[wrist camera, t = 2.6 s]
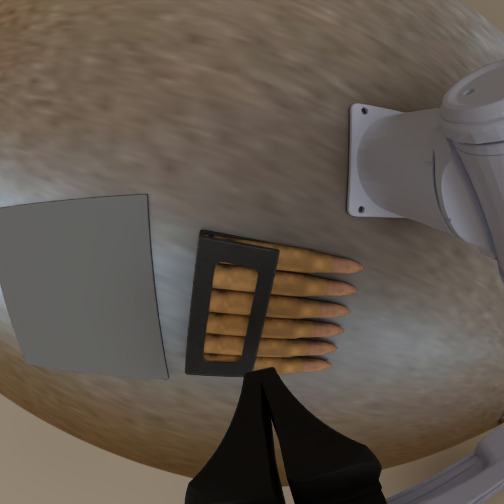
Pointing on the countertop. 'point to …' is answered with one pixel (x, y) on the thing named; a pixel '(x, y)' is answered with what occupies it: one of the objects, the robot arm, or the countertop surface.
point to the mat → (83, 285)
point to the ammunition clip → (260, 306)
